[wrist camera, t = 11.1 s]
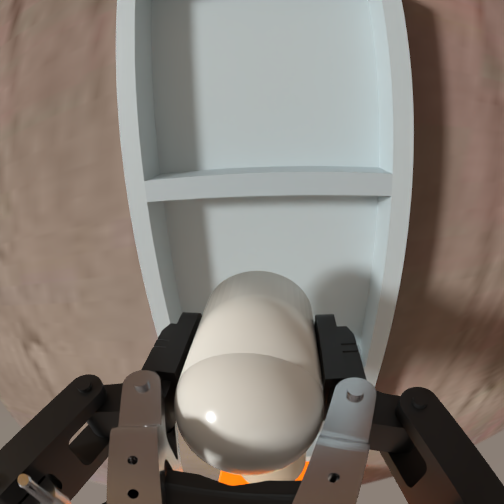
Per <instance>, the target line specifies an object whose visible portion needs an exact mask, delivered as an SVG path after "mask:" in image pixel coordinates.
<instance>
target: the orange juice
mask: <svg viewBox="0 0 504 504" xmlns="http://www.w3.org/2000/svg"><path fill="white" fill-rule="evenodd" d="M308 464H309V461H306V463H305V467H304V469H303V471H302V473H301V474H300V476H299V477H298V478H297V479H296V480H295V481H297V480H302V479H303V477H304V474H305V472H306V469H307V466H308ZM219 482H221V483H224V484H227V485H232V486H234V485H243V484H249V483H248V482H247V481H246V480H245V479H244V478H243V477H242V476H241V475H236V474H231V473H228V472H224V471H221V472H220V477H219Z"/></svg>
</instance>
